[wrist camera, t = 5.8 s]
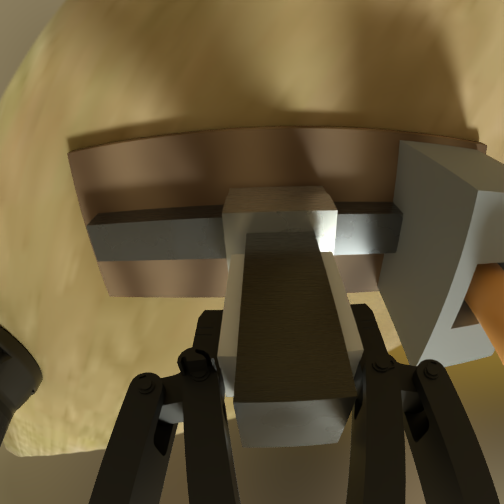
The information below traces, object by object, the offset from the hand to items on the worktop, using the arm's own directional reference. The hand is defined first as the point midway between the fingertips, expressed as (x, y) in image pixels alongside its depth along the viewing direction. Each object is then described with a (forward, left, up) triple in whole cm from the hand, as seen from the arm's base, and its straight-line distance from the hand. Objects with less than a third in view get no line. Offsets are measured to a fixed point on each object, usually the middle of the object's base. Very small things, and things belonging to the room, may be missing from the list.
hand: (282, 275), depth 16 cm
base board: (+1, 0, -7) cm, 7 cm away
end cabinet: (+12, 0, -6) cm, 13 cm away
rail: (-2, 0, -6) cm, 7 cm away
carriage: (0, 0, -6) cm, 6 cm away
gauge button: (+12, 0, -1) cm, 12 cm away
